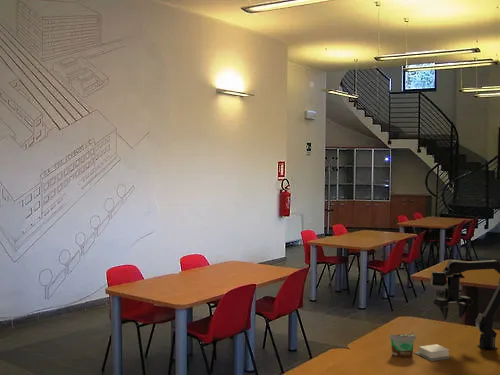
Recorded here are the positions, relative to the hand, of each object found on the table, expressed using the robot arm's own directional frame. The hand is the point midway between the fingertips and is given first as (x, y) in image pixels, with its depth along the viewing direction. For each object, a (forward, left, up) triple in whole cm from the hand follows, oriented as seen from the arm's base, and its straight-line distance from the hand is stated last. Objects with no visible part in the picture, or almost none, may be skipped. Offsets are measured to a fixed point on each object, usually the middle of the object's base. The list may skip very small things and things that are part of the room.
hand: (452, 318), depth 261 cm
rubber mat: (+18, +8, -13) cm, 24 cm away
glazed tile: (+12, +8, -11) cm, 19 cm away
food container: (+31, +5, -13) cm, 34 cm away
